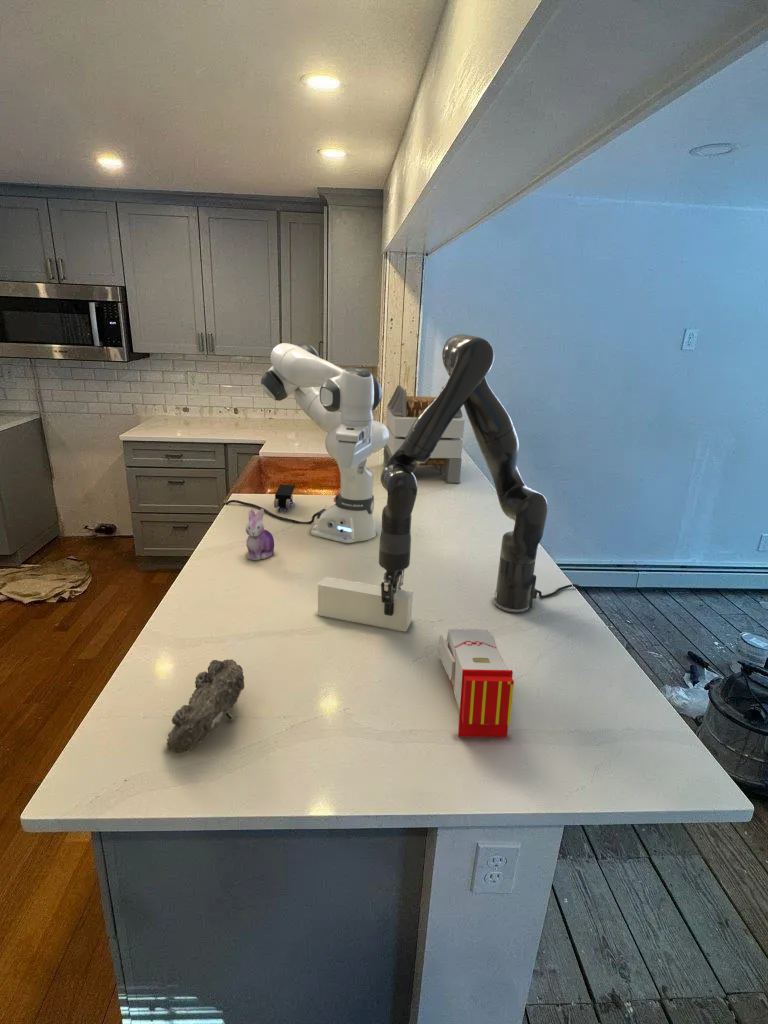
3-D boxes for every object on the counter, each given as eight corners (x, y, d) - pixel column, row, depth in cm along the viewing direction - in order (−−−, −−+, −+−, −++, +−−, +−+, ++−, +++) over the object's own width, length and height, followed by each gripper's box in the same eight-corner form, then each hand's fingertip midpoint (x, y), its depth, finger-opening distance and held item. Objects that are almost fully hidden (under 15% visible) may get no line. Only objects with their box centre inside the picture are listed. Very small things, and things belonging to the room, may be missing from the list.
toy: (488, 613, 130) (523, 677, 101) (484, 667, 133) (517, 744, 104) (435, 612, 130) (455, 676, 101) (432, 666, 133) (451, 743, 103)
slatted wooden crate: (382, 463, 289) (386, 382, 275) (445, 464, 293) (451, 384, 279) (390, 482, 257) (394, 392, 243) (460, 483, 261) (468, 394, 247)
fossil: (192, 660, 117) (244, 628, 112) (224, 691, 120) (276, 661, 115) (142, 746, 98) (202, 712, 93) (182, 779, 101) (242, 748, 96)
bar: (317, 615, 145) (318, 584, 142) (325, 606, 150) (325, 576, 147) (406, 631, 140) (408, 600, 137) (410, 621, 144) (412, 591, 141)
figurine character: (291, 517, 214) (296, 500, 227) (290, 499, 211) (295, 483, 224) (273, 516, 214) (279, 500, 227) (272, 498, 210) (278, 482, 224)
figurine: (249, 563, 172) (248, 517, 167) (241, 550, 180) (239, 506, 175) (280, 558, 176) (279, 513, 171) (270, 546, 184) (269, 502, 179)
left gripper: (357, 421, 165) (356, 467, 170) (333, 435, 147) (332, 486, 151) (378, 423, 164) (376, 469, 168) (356, 437, 145) (355, 488, 150)
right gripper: (402, 561, 128) (399, 626, 134) (417, 538, 141) (412, 599, 147) (371, 556, 130) (368, 620, 136) (388, 534, 143) (385, 594, 149)
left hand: (355, 477), depth 160 cm, fingers open, 8 cm apart
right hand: (391, 609), depth 142 cm, fingers closed on bar, 5 cm apart
